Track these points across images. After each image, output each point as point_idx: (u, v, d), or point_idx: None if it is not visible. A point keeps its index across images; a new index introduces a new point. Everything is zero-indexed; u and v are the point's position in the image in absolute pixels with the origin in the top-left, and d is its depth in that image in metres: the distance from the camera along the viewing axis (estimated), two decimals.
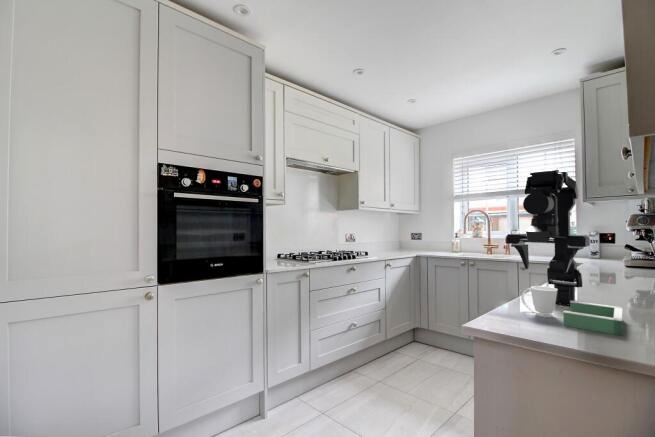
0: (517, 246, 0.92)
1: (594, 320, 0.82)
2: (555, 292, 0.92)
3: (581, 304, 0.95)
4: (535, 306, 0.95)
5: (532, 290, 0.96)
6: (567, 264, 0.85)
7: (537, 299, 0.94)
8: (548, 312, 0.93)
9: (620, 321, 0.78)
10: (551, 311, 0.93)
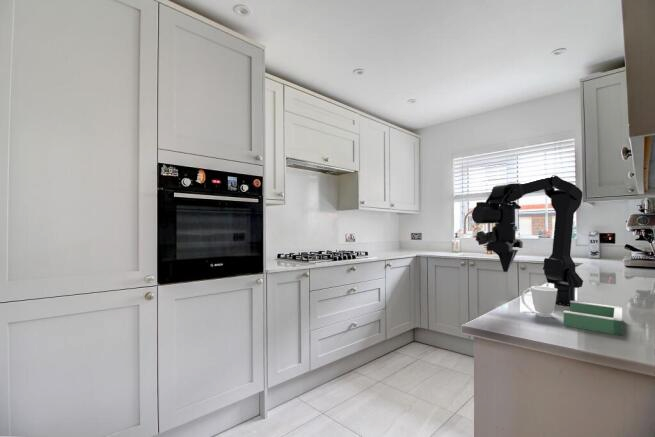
0: None
1: (594, 320, 0.82)
2: (555, 292, 0.92)
3: (581, 304, 0.95)
4: (535, 306, 0.95)
5: (532, 290, 0.96)
6: None
7: (537, 299, 0.94)
8: (548, 312, 0.93)
9: (620, 321, 0.78)
10: (551, 311, 0.93)
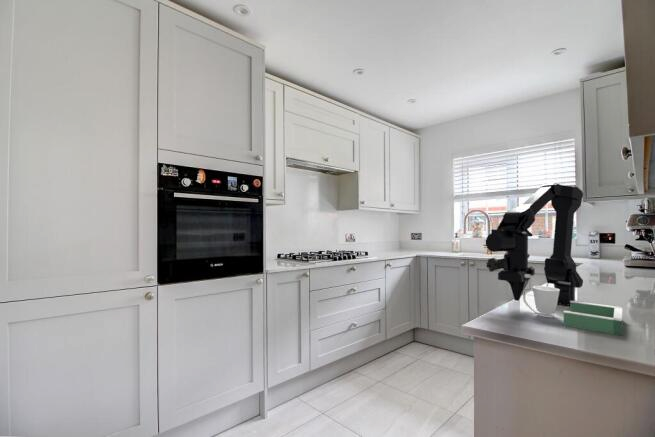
0: None
1: (594, 320, 0.82)
2: (557, 292, 0.92)
3: (581, 304, 0.95)
4: (537, 306, 0.95)
5: (534, 290, 0.95)
6: None
7: (539, 299, 0.94)
8: (550, 312, 0.93)
9: (620, 321, 0.78)
10: (553, 311, 0.93)
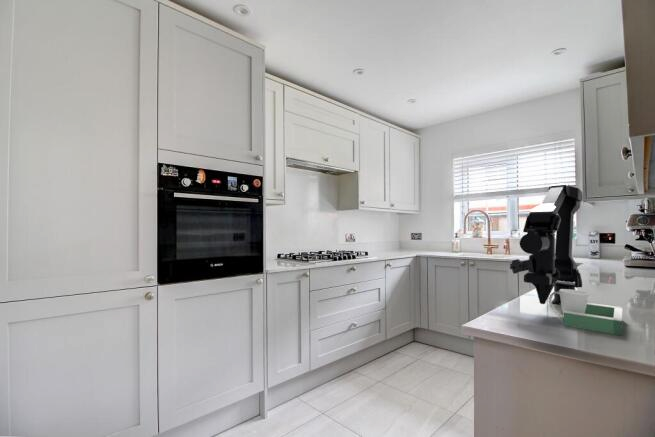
0: None
1: (594, 320, 0.82)
2: (586, 296, 0.87)
3: None
4: (563, 310, 0.90)
5: (561, 293, 0.91)
6: (538, 295, 0.96)
7: (566, 303, 0.89)
8: None
9: (620, 321, 0.78)
10: None
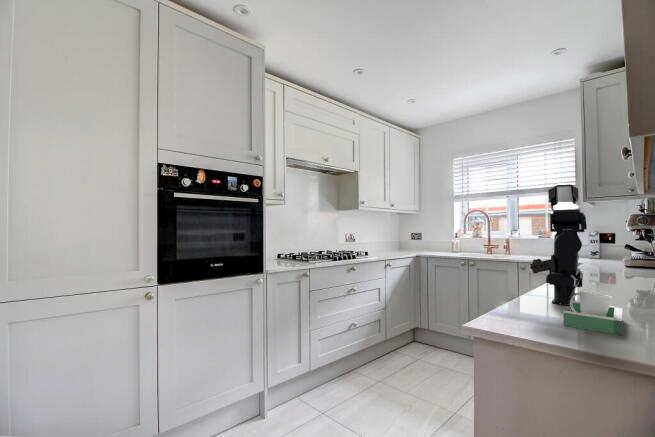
0: None
1: (594, 320, 0.82)
2: (607, 299, 0.83)
3: None
4: (582, 311, 0.88)
5: (581, 294, 0.88)
6: (559, 297, 0.92)
7: (584, 304, 0.86)
8: None
9: (620, 321, 0.78)
10: None
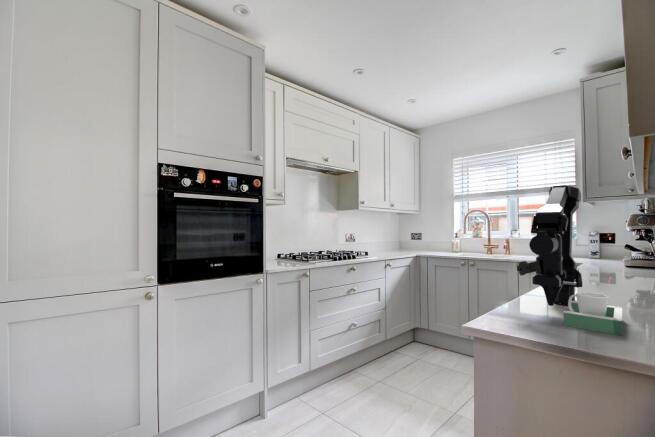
0: None
1: (594, 320, 0.82)
2: (604, 299, 0.83)
3: None
4: None
5: (577, 296, 0.88)
6: (546, 297, 0.95)
7: (582, 306, 0.86)
8: None
9: (620, 321, 0.78)
10: None
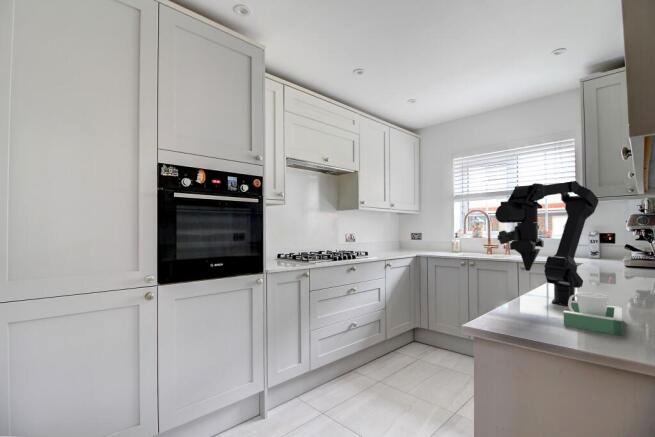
0: None
1: (594, 320, 0.82)
2: (604, 299, 0.83)
3: None
4: None
5: (577, 296, 0.88)
6: (523, 262, 1.04)
7: (582, 306, 0.86)
8: None
9: (620, 321, 0.78)
10: None
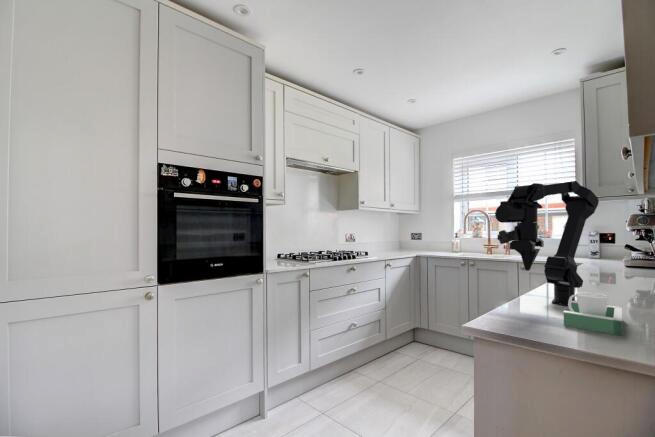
0: None
1: (594, 320, 0.82)
2: (604, 299, 0.83)
3: None
4: None
5: (577, 296, 0.88)
6: (523, 263, 1.04)
7: (582, 306, 0.86)
8: None
9: (620, 321, 0.78)
10: None
